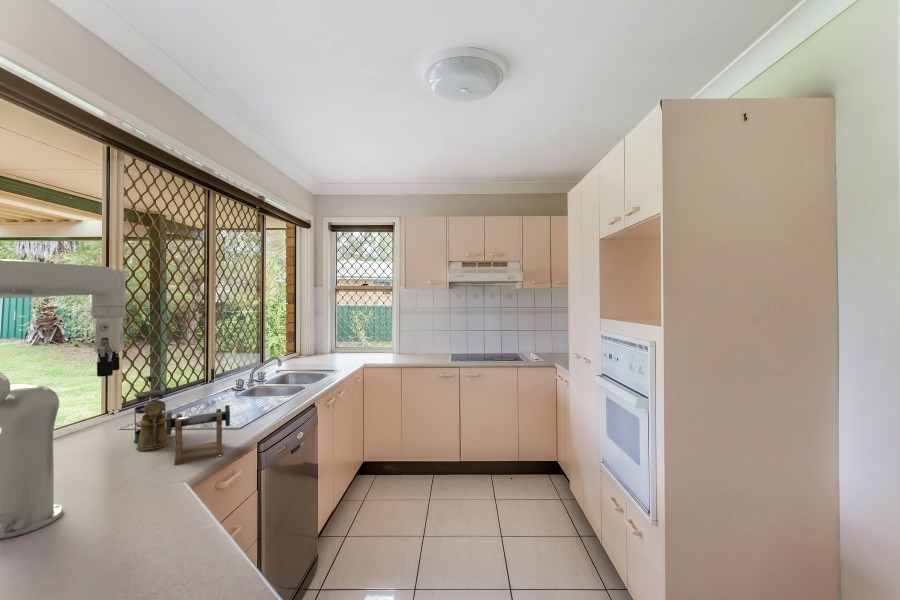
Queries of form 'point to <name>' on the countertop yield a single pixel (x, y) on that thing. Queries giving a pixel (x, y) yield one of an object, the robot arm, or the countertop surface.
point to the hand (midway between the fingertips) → (108, 373)
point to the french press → (140, 398)
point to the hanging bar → (197, 419)
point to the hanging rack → (197, 450)
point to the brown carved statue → (153, 427)
